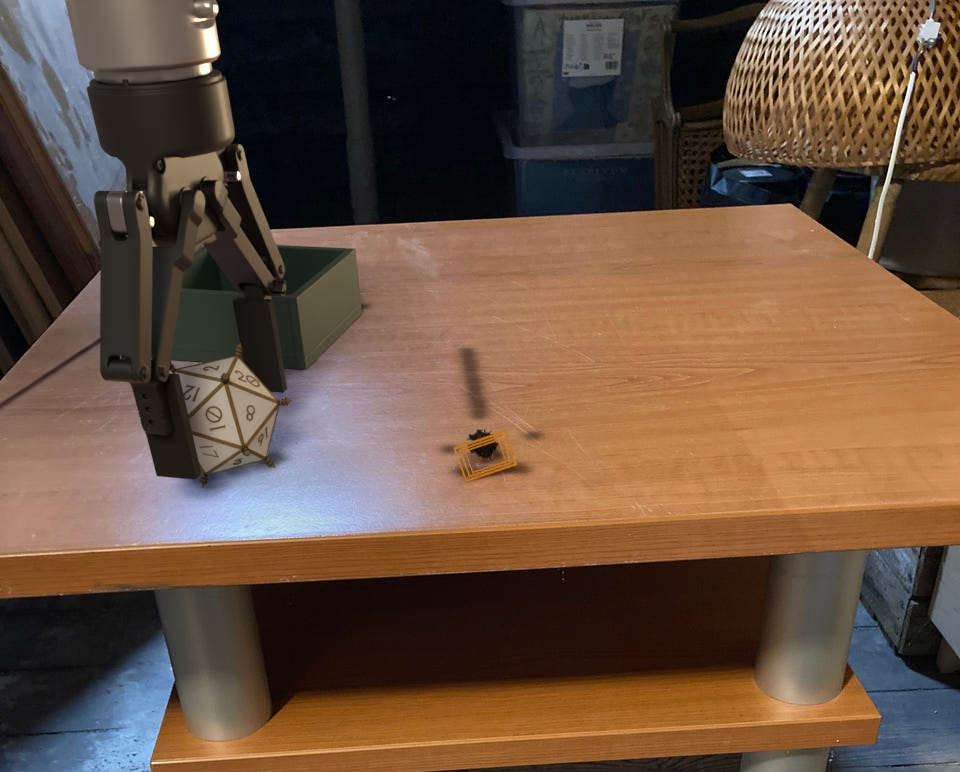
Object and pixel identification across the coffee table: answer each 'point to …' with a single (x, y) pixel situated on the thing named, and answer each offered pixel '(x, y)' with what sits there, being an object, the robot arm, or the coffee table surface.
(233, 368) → the game die
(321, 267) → the bin
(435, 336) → the coffee table surface
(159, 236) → the robot arm
